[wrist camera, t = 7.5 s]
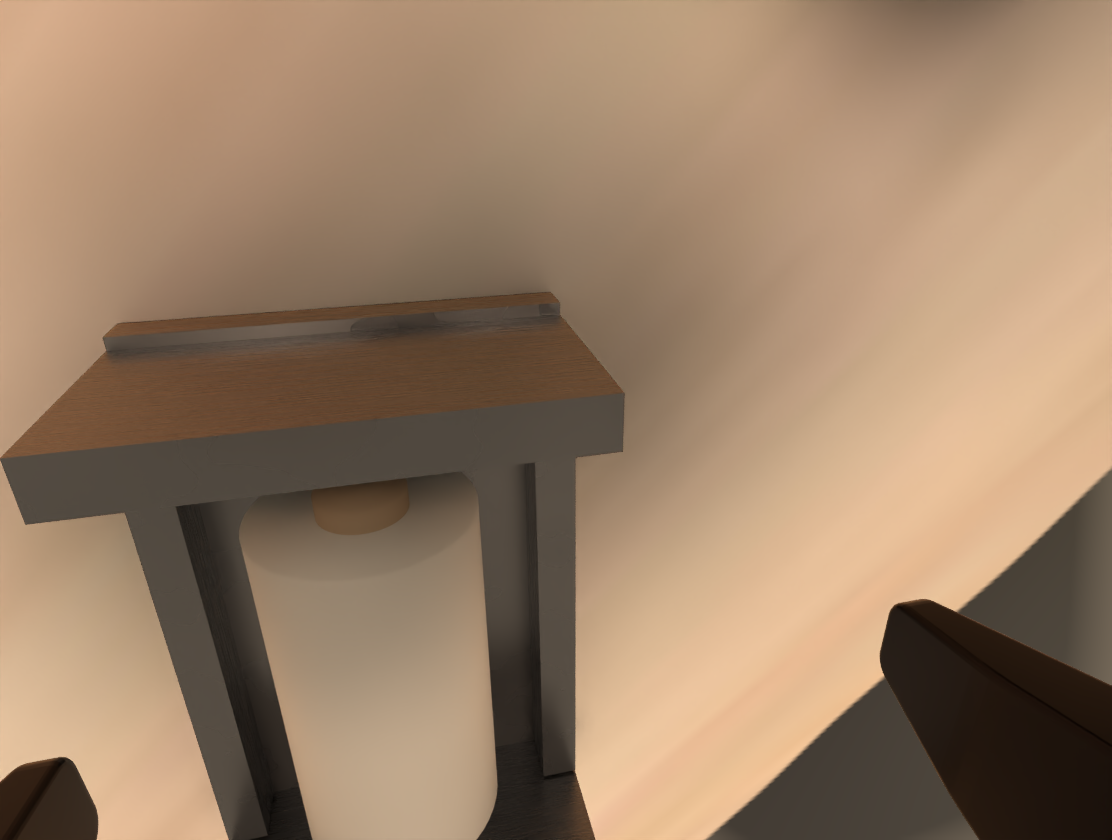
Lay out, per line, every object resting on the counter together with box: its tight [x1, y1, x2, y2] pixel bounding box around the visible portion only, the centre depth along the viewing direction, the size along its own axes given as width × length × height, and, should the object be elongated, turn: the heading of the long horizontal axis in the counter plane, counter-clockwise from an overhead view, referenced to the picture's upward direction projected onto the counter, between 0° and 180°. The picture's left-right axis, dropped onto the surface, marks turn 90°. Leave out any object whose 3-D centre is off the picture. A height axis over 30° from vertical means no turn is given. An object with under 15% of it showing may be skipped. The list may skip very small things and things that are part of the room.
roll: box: [239, 472, 498, 840], centre depth 17 cm, size 10×5×5 cm, turn 1°
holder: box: [0, 292, 625, 840], centre depth 18 cm, size 10×16×6 cm, turn 1°
